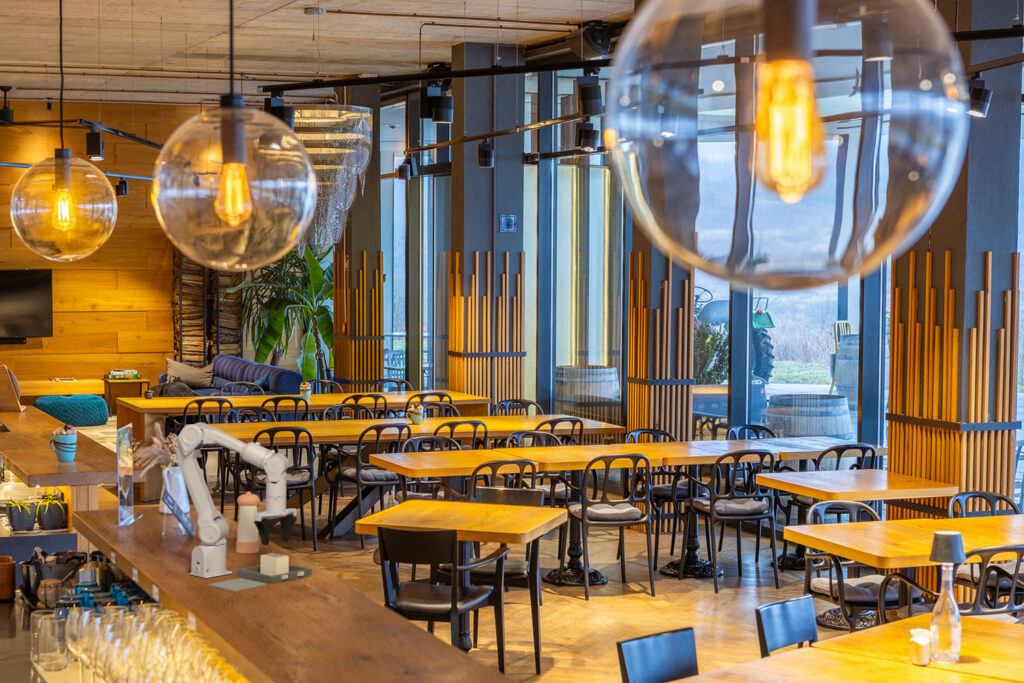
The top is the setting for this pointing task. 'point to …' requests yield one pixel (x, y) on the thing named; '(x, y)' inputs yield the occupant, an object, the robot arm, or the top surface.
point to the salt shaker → (247, 524)
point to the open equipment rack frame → (255, 574)
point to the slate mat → (237, 584)
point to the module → (274, 564)
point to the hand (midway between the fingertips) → (275, 543)
